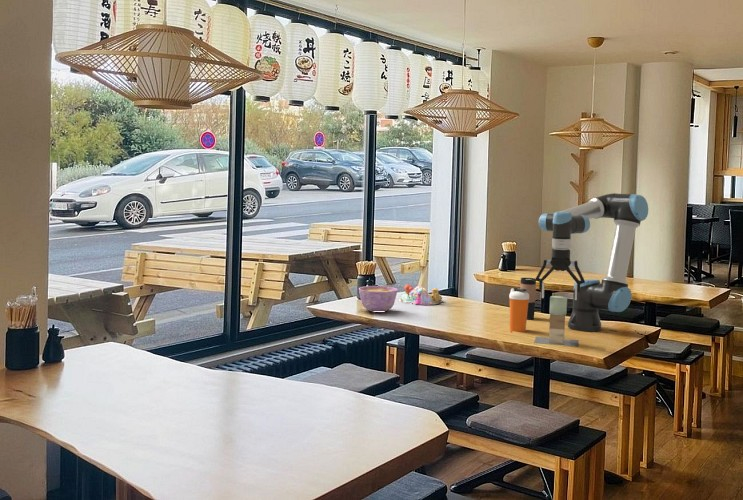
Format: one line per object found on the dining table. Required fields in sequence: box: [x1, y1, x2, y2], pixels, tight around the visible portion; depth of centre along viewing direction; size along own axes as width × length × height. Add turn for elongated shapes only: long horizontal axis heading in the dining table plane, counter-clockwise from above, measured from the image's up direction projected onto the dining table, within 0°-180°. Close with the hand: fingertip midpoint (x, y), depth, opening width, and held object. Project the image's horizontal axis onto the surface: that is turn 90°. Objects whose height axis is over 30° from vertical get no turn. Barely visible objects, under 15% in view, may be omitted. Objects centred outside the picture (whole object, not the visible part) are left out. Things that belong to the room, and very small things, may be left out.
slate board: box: [533, 336, 579, 348], centre depth 326 cm, size 13×18×1 cm
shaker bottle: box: [508, 287, 529, 334], centre depth 347 cm, size 9×9×20 cm
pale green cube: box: [548, 295, 568, 316], centre depth 324 cm, size 7×7×7 cm
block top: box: [549, 313, 566, 331], centre depth 325 cm, size 6×6×6 cm
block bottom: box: [548, 327, 566, 344], centre depth 325 cm, size 6×6×6 cm
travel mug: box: [519, 277, 537, 321], centre depth 380 cm, size 8×8×20 cm
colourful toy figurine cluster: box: [398, 284, 444, 306], centre depth 422 cm, size 25×24×9 cm
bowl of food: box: [358, 285, 399, 311], centre depth 391 cm, size 20×20×12 cm
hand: (559, 298), depth 324 cm, fingers open, 13 cm apart
